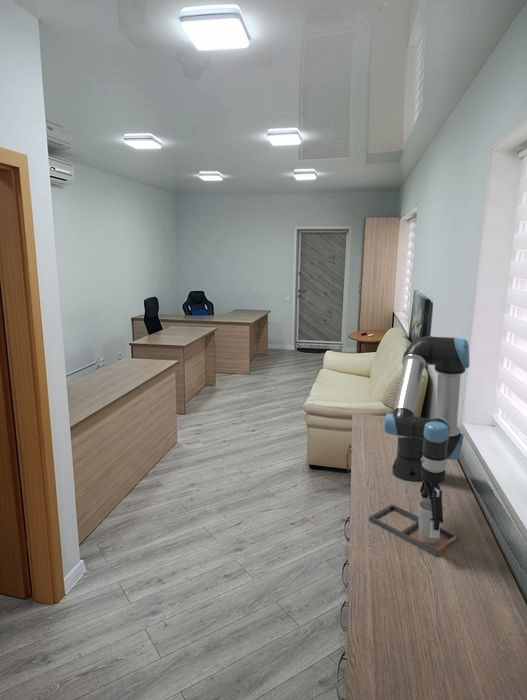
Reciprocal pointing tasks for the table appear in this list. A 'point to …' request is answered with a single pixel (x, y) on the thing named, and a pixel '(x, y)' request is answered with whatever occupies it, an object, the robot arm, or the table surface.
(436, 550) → the two-slot metal tray
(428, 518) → the cup
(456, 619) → the table surface
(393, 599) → the table surface
